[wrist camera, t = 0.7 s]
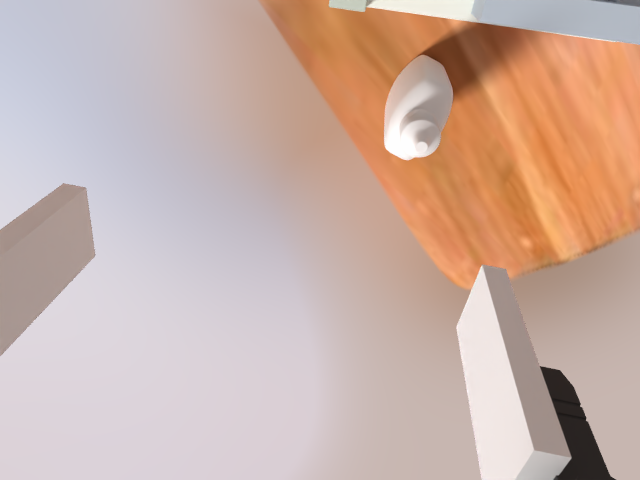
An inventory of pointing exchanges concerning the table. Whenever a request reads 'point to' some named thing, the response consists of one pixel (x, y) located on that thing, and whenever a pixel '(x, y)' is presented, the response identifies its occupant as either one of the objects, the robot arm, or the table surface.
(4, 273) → the robot arm
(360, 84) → the table surface
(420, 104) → the eye dropper bottle
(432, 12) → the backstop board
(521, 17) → the cradle block
